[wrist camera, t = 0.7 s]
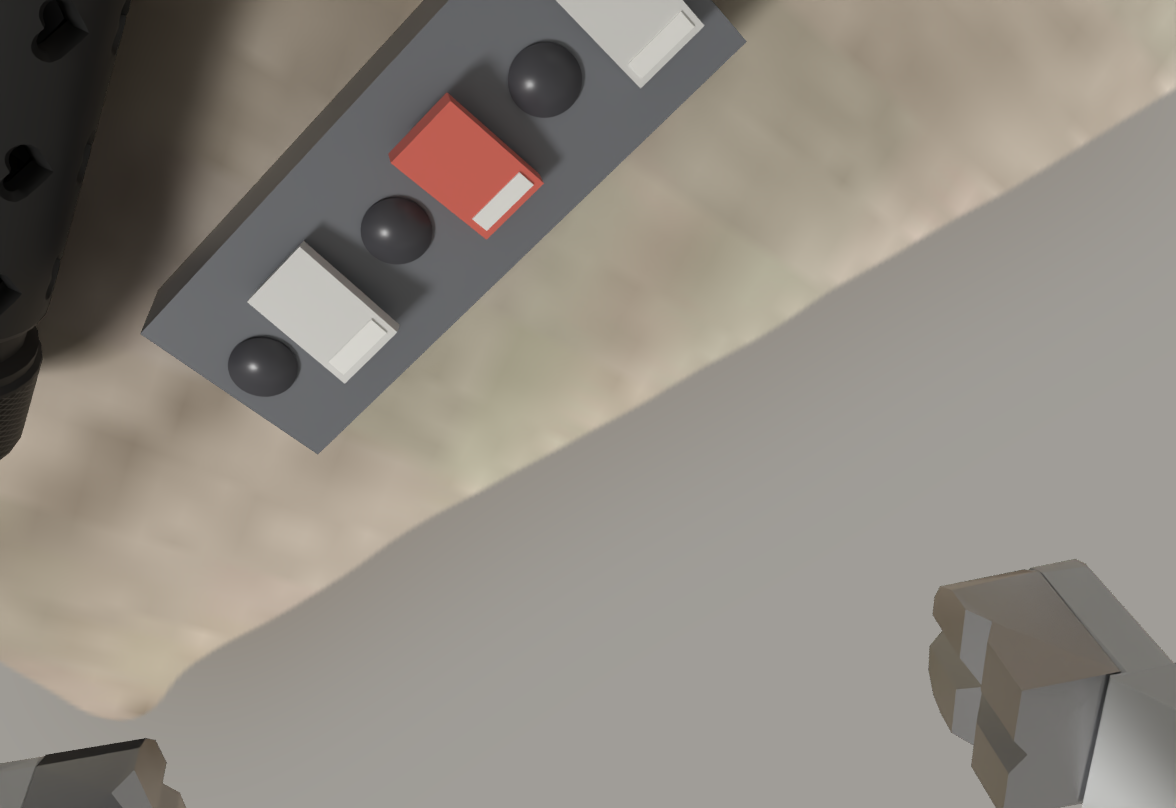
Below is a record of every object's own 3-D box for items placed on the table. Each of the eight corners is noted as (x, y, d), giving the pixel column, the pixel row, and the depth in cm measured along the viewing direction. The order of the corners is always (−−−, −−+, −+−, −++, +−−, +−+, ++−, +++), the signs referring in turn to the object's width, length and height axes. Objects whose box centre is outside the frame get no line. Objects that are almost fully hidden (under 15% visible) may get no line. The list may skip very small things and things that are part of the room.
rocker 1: (303, 240, 43) (299, 247, 42) (399, 324, 45) (397, 332, 44) (251, 295, 44) (246, 302, 43) (347, 375, 46) (344, 384, 45)
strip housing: (569, -159, 41) (585, -148, 37) (720, 17, 45) (747, 42, 42) (157, 290, 48) (139, 335, 44) (322, 406, 52) (317, 456, 48)
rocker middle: (446, 92, 40) (450, 101, 39) (539, 173, 43) (544, 184, 42) (388, 153, 41) (391, 163, 40) (482, 229, 44) (486, 240, 43)
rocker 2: (611, -81, 38) (619, -74, 37) (697, 18, 41) (705, 26, 40) (545, -12, 39) (551, -4, 38) (634, 80, 42) (641, 89, 41)
